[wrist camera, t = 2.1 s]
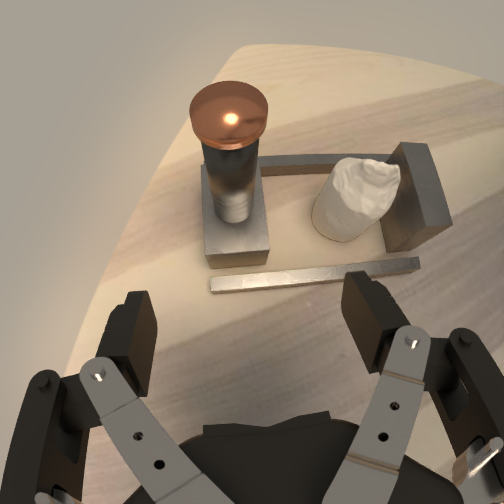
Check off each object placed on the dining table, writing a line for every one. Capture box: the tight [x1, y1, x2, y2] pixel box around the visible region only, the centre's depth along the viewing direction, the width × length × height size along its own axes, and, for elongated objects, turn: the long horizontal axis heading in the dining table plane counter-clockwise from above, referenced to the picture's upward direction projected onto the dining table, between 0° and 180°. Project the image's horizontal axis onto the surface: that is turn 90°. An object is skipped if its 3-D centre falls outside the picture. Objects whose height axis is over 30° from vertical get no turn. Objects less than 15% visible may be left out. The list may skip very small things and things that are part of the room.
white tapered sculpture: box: [312, 158, 400, 242], centre depth 26 cm, size 6×12×6 cm
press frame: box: [204, 142, 453, 294], centre depth 28 cm, size 20×13×8 cm, turn 96°
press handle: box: [189, 81, 270, 269], centre depth 23 cm, size 5×8×17 cm, turn 6°
